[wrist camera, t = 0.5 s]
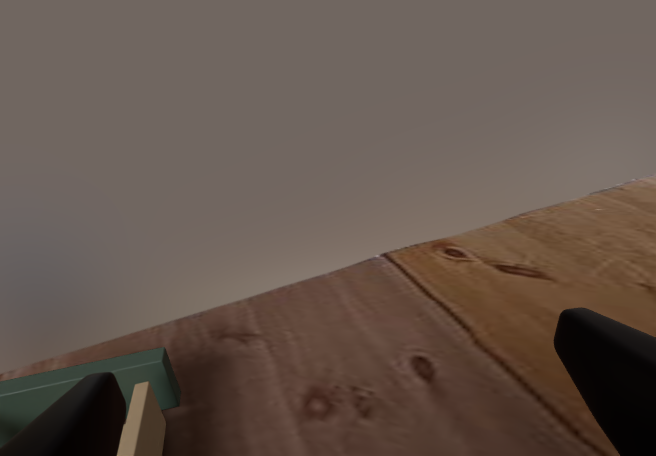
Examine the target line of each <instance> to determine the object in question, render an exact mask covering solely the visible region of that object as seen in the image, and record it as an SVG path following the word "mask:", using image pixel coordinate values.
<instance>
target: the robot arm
mask: <svg viewBox="0 0 656 456" xmlns="http://www.w3.org/2000/svg"><path fill="white" fill-rule="evenodd" d="M554 347H555V350H556V352H557V354H558V356H559V358H560V359H561V361H562V363H563V365H564V366H565V368H566V370H567V371H568V373H569V375H570V377H571V378H572V380H573V382H574V384H575V385H576V387H577V389H578V391H579V392H580V394H581V396H582V398H583V399H584V401H585V403H586V404H587V406H588V408H589V410H590V411H591V413H592V415H593V416H594V418H595V419H596V421H597V423H598V424H599V426H600V427H601V428H602V430H603V431H604V433H605V434H606V436H607V437H608V439H609V440H610V441H611V443H612V444H613V446H614V447H615V449H616V450H617V451H618V453H619V454H620V456H656V337H653V336H651V335H648V334H646V333H644V332H641V331H639V330H636V329H634V328H632V327H629V326H627V325H625V324H622V323H620V322H617V321H615V320H613V319H610V318H608V317H605V316H603V315H601V314H598V313H596V312H594V311H591V310H589V309H586V308H573V309H566V310H564V311H562V313H561V314H560V316H559V320H558V324H557V328H556V332H555V336H554ZM125 416H126V401H125V398H124V396H123V394H122V391H121V389H120V387H119V384H118V382H117V380H116V377H115V376H114V374H113V373H111V372H102V373H94V374H90V375H87V376H85V377H84V378H83V379H82V380H80V381H79V382H78V383H77V384H76V385H74V386H73V387H72V388H71V389H70V390H69V391H67V392H66V393H65V394H64V395H63V396H61V397H60V398H59V399H58V400H57V401H55V402H54V403H53V404H52V405H51V406H49V407H48V408H47V409H46V410H45V411H44V412H42V413H41V414H40V415H39V416H38V417H36V418H35V419H34V420H33V421H32V422H30V423H29V424H28V425H27V426H26V427H24V428H23V429H22V430H21V431H20V432H19V433H17V434H16V435H15V436H14V437H13V438H11V439H10V440H9V441H8V442H7V443H5V444H4V445H3V446H2V447H1V448H0V456H117V453H118V449H119V444H120V439H121V435H122V430H123V426H124V421H125Z"/></svg>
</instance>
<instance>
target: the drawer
mask: <svg viewBox="0 0 656 456" xmlns="http://www.w3.org/2000/svg"><path fill="white" fill-rule="evenodd" d="M102 372H111V373H113V374H114V376H115V377H116V380H117V382H118V384H119V387H120V389H121V391H122V394H123V396H124V398H125V401H126V416H125V419H127V420H126V424H124V426H123V430H122V435H121V439H120V444H119V449H118V453H117V456H162V451H163V443H164V436H165V429H166V421H165V419H164V416H163V414H162V411H161V410H165V409H169V408H173V407H177V406H179V404H180V395H181V391H180V388H179V385H178V382H177V380H176V377H175V374H174V371H173V369H172V366H171V363H170V360H169V357H168V355H167V352H166V349H165V347H162V348H157V349H152V350H147V351H143V352H138V353H133V354H129V355H124V356H119V357H114V358H110V359H105V360H100V361H96V362H91V363H86V364H81V365H77V366H72V367H67V368H62V369H58V370H53V371H48V372H44V373H39V374H34V375H29V376H25V377H20V378H15V379H11V380H6V381H1V382H0V448H1V447H2V446H3V445H4V444H5V443H7V442H8V441H9V440H10V439H11V438H13V437H14V436H15V435H16V434H17V433H19V432H20V431H21V430H22V429H23V428H24V427H26V426H27V425H28V424H29V423H30V422H32V421H33V420H34V419H35V418H36V417H38V416H39V415H40V414H41V413H42V412H44V411H45V410H46V409H47V408H48V407H49V406H51V405H52V404H53V403H54V402H55V401H57V400H58V399H59V398H60V397H61V396H63V395H64V394H65V393H66V392H67V391H69V390H70V389H71V388H72V387H73V386H74V385H76V384H77V383H78V382H79V381H80V380H82V379H83V378H84V377H85V376H87V375H90V374H94V373H102Z"/></svg>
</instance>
